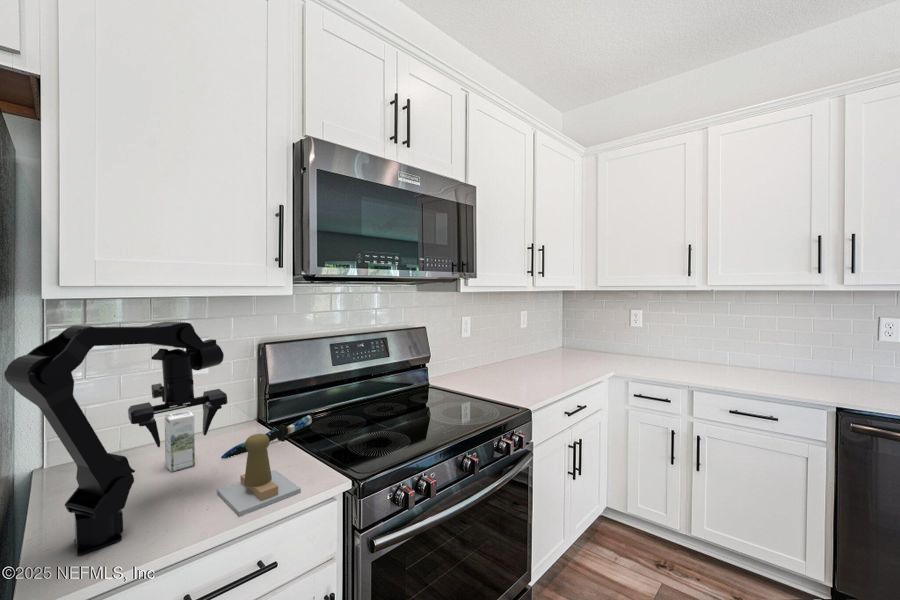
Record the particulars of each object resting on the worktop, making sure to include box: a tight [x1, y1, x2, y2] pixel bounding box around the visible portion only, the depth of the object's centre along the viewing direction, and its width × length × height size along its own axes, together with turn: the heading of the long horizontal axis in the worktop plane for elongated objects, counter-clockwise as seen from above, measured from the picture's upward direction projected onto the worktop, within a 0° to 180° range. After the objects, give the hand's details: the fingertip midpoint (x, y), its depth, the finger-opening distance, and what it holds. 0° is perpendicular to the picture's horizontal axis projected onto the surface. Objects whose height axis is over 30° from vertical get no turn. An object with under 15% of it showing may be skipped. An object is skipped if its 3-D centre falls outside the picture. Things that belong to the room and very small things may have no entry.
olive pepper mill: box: [244, 433, 272, 487], centre depth 97 cm, size 6×6×11 cm
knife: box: [220, 413, 315, 460], centre depth 128 cm, size 31×3×4 cm, turn 140°
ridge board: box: [216, 469, 302, 517], centre depth 98 cm, size 14×14×3 cm
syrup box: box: [164, 410, 196, 473], centre depth 111 cm, size 6×6×14 cm
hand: (182, 440), depth 96 cm, fingers open, 9 cm apart
